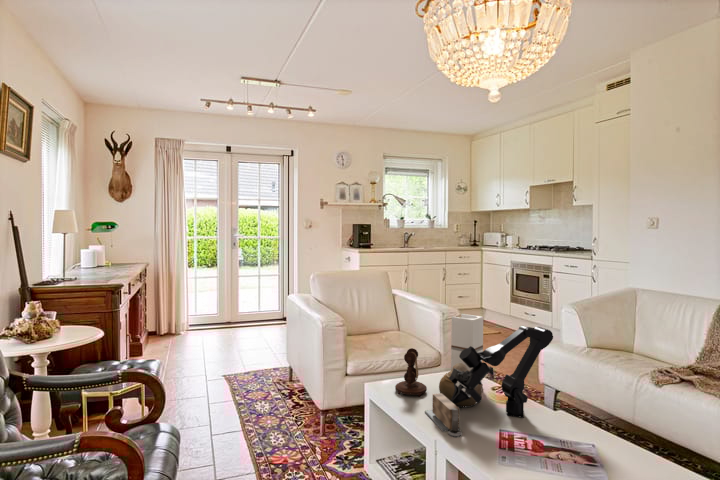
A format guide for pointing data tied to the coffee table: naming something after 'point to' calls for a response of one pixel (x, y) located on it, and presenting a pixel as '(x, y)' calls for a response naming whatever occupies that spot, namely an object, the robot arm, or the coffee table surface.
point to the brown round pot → (448, 387)
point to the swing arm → (446, 411)
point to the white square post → (465, 336)
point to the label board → (437, 420)
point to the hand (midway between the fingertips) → (450, 404)
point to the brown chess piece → (411, 376)
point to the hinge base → (454, 433)
